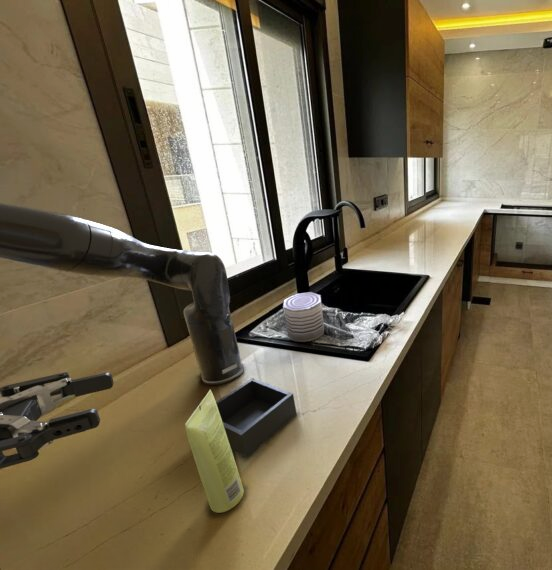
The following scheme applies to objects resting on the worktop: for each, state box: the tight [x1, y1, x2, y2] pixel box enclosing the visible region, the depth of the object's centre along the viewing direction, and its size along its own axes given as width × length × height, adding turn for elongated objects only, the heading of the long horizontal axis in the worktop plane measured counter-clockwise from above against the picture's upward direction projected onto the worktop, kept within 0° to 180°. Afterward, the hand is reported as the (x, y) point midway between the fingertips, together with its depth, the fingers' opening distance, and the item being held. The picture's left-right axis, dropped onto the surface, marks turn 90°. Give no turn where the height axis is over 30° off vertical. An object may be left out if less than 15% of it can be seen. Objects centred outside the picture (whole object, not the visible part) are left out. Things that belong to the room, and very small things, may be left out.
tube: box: [184, 389, 245, 514], centre depth 51 cm, size 6×5×20 cm
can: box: [282, 291, 325, 343], centre depth 104 cm, size 11×11×12 cm
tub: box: [216, 377, 298, 459], centre depth 69 cm, size 13×13×6 cm
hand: (105, 396), depth 41 cm, fingers open, 8 cm apart
